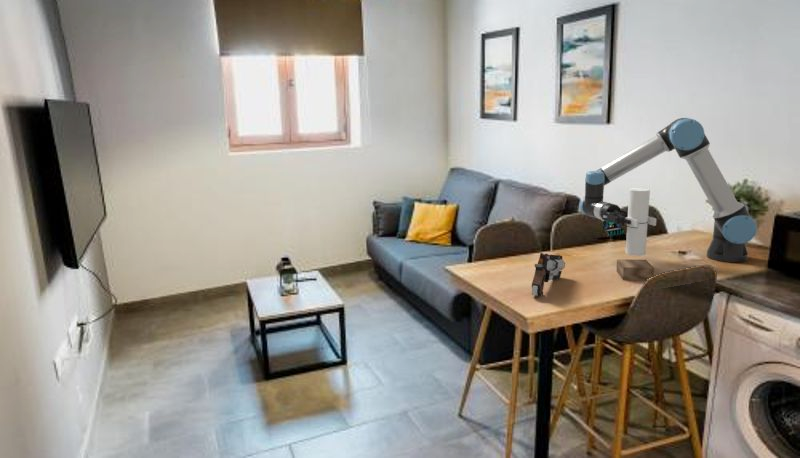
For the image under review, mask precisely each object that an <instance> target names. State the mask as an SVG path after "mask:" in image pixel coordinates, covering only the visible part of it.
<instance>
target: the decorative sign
mask: <svg viewBox="0 0 800 458" xmlns="http://www.w3.org/2000/svg"><path fill="white" fill-rule="evenodd" d="M602 222H603V225H604V226H603V231H604V229H606V230H607V232H608V234H609V237H608V238H612V237H618V236H622V235H623V234H624V233H625V234H626V232H625V228H623V226H621V223H619V224H616V223H611V222H607V221H602V220H601V223H602ZM613 225H614V227H613ZM604 227H605V228H604ZM621 234H622V235H621ZM623 236H624V235H623Z"/></svg>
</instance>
